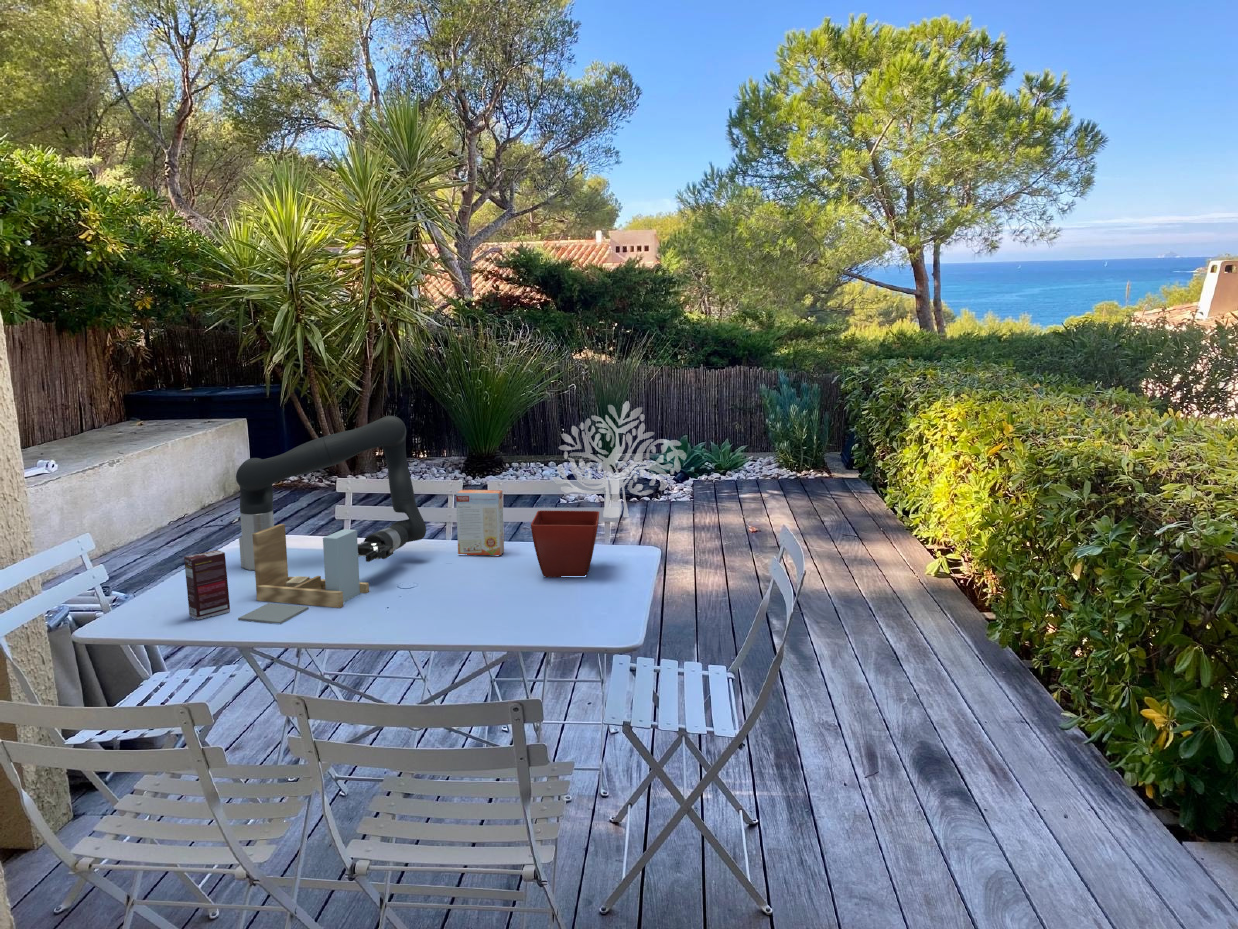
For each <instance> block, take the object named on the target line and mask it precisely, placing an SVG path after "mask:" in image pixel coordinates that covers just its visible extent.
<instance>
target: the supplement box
mask: <svg viewBox="0 0 1238 929" xmlns="http://www.w3.org/2000/svg"><path fill="white" fill-rule="evenodd" d="M183 558H184V559H183V561H184V570H185V581H186V582H185V583H186V592H187V604H188V612H189V613H188V614H189V617H190V618H192V617H193V618H192V619H194V618H195V619H194V620H196V619H201V620H204V619H203V618H205V619H207V618H206V617H208V618H210V617H209V616H212V617H216V616H218V615H224V614H226V613H227V614H228V613H229V612H230V611H231V606H230V596H229V594H230V593H229V582H228V572H227V562H226V552H224V551H221V550H217V549H216V550H211V551H204V552H200V553H197V554H191V555H186V556H184V557H183Z"/></svg>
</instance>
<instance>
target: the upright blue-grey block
mask: <svg viewBox="0 0 1238 929" xmlns="http://www.w3.org/2000/svg"><path fill="white" fill-rule="evenodd" d="M358 544H359V543H358V530H357V529H347V528H346V529H345V528H344V529H341V530H338V531H336V532H334V533H331V534H329V535H326V536H323V537H322V547H323V562H324V563H323V564H324V566H323V568H324V579H325V586H326V590H331V591H343V604H344V603H346V602H348V601H349V600H351V599H353V598H355V597H357V596H358V595H360V594H361V593H360V584H359V582H360V569H359V567H360V566H359V563H360V562H359V557H358Z"/></svg>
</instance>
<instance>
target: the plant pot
mask: <svg viewBox="0 0 1238 929" xmlns="http://www.w3.org/2000/svg"><path fill="white" fill-rule="evenodd" d="M599 519H600V511H597V510H537V512H536V514H535V516H534V517H533V520H532V521H531V523H530V528H531V536H532V542H533V547H534V549H535V550H534V551H535V555H536V558H537V561H538V565H539V568H540V571H541V574H542V576H543V577H544V576H545V577H544V578H562V577H561V576H585V575H587V576H588V574H589V570H590V567H591V564H592V559H593V556H594V549H595V545H596V544H595V543H596V539H597V533H598V527H599V521H600V520H599Z"/></svg>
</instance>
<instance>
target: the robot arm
mask: <svg viewBox="0 0 1238 929" xmlns="http://www.w3.org/2000/svg"><path fill="white" fill-rule="evenodd" d="M406 438H407V427H406V425H405V423H404V421H403V419H402V418H399V417H397V416H395V415H387V416H383V417H381V418H379V419H376V420H375V421H372V422H370V423H367V424H365V425H363V426H360V427H357V428H354V429H350V430H344V431H340V432H336V433H333V434H332V433H331V434H328V435H325V436H321V437H318V438H315V439H312V440H310V441H306V442H305V443H302V444H299V445H298V446H296V447H293V448H292V449H290V450H288V451H286V452H284V453H281V454H279V455H275V456H272V457H268V458H263V459H262V458H259V457H251V458H248V459H246V460H244V461H243V462H242V463H241V464H240V466H239V467H238V468H237V471H236V473H235V474H236V475H235V479H236V483H237V485H238V486H239V492H240V494H239V495H240V496H239V512H240V513H239V514H240V515H239V516H240V526H241V527H240V528H241V536H239V537H238V541H239V544H238V545H239V556H240V558H239V559H240V568H243V569H244V570H245V569H246V570H248V571H249V570H250V571H255V564H254V550H253V535H252V534H254V533H257V532H259V531H262V530H265V529H268V528H271V527H274V526H275V519H274V493H273V492H274V491H273V490H274V489H273V487H274V486H273V485H274V484H276V483H279V482H280V481H283V480H286V479H289V478H292V477H295V476H296V477H297V476H300V475H305V474H308V473H313V472H316V471H319V470H323V469H326V468H329V467H333V466H336V465H339V464H341V463H343V462H345V461H347V460H350V459H351V458H353V457H355V456H357V455H359V454H360V453H364V452H366V451H368V450H369V451H370V450H373V449H375V448H376V449H377V448H380V447H382V450H383V453H384V457H385V462H386V467H387V474H388V476H387V477H388V485H389V492H390V499H391V502H392V509H393V511H394V512H395V513H398V514H399V513H400V514H401V513H402V514H405V515H406V516H407V519H403V520H398V521H395V522H393V523H392V524H391V525H390V526H389V527H385V528H383V529H379V530H378V531H375V532H373V533H371V534H369V535H367V536H366V537H365V538H364V540H363V542H361V543H358V558H359V557H365V562H366V563H370V562H372V561H374V560H380V559H382V560H385V559H388V558H389V557H391V556H393V555H394V552H395V551H396V550H399V549H401V547H403V546H405V545H406V543H411V542H415V541H420V540H422V539H424V538H425V536H426V533H427V526H426V525H427V524H426V523H425V520H424V518H423V517H422V514H421V512H420V510H419V508H418V505H417V503H416V498H415V492H414V486H413V482H412V478H411V474H410V473H411V472H410V470H409V466H408V459H407V450H406V449H407V448H406V446H407V445H406V441H407V440H406Z"/></svg>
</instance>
